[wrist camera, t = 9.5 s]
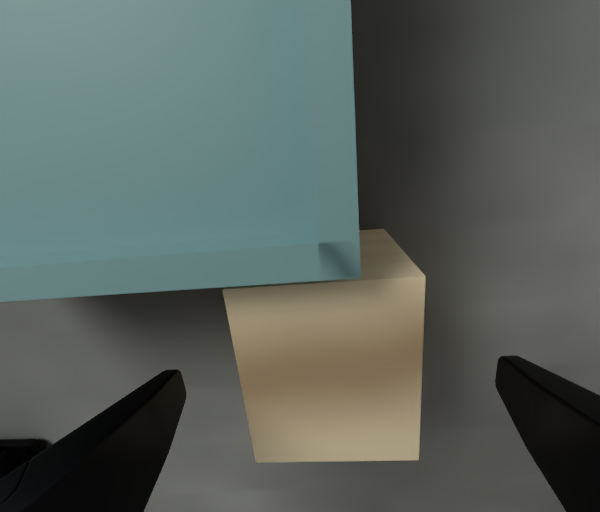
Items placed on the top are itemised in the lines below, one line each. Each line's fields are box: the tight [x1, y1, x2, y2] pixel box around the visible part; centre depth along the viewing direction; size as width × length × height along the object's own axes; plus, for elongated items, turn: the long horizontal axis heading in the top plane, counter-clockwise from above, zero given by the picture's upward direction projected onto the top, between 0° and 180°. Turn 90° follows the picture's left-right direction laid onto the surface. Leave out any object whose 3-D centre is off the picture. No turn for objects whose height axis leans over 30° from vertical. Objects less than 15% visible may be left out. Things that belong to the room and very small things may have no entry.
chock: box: [222, 229, 426, 463], centre depth 11 cm, size 6×5×5 cm
